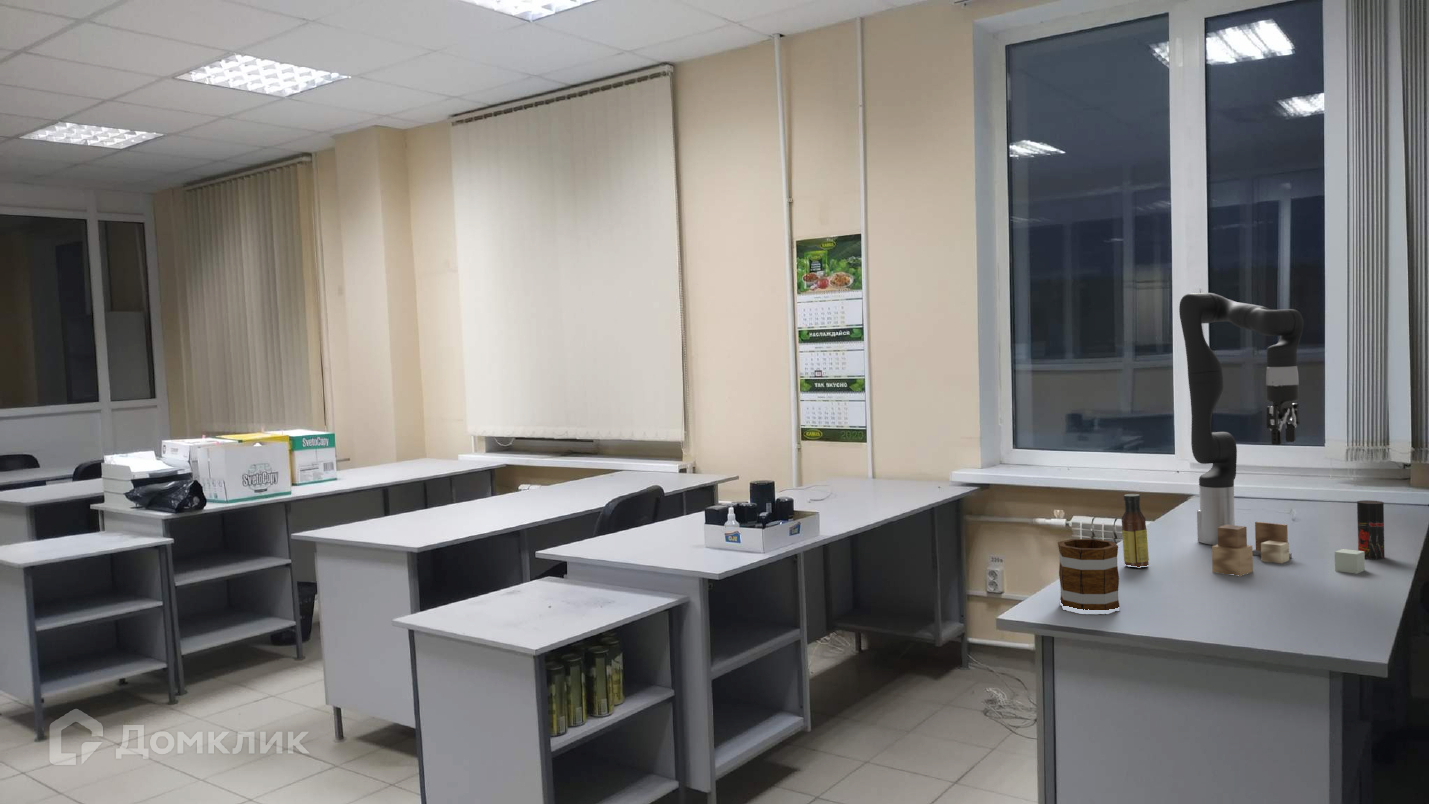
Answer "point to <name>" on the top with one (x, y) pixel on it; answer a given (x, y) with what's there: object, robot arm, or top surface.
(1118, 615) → the top surface
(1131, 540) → the sauce bottle
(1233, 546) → the walnut cube
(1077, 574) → the mug
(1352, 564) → the sage painted cube
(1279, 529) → the walnut card
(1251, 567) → the oak base block
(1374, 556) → the deodorant
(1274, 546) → the birch cube
